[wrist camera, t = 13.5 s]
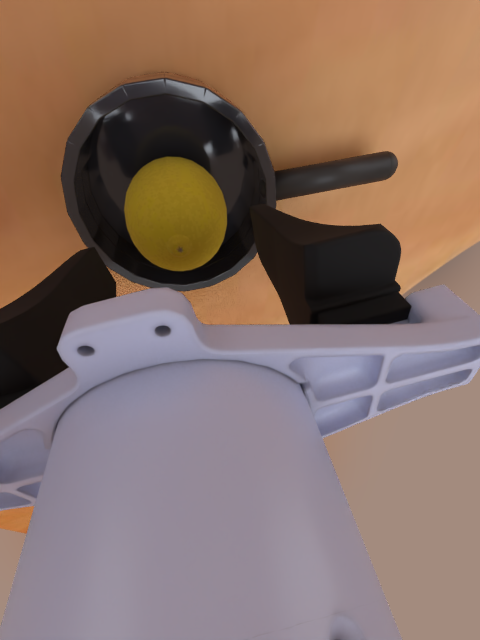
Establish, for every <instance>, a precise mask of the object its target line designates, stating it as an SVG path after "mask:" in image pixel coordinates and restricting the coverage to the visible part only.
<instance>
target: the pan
mask: <svg viewBox="0 0 480 640" xmlns="http://www.w3.org/2000/svg"><path fill="white" fill-rule="evenodd" d="M163 157H181V158H185V159H188V160H192V161H193V162H195V163H197V164H198V165H200V166H202V167H203V168H204V169H205V170H206V171H207V172H208V173H209V174H210V175H211V176H212V177H213V178H214V179H215V181H216V182H217V184H218V186H219V187H220V189H221V191H222V193H223V197H224V200H225V204H226V208H227V227H226V231H225V236H224V240H223V242H222V244H221V246H220V248H219V250H218V251H217V253H216V254H215V255H214V256H213V257H212V258H211V259H210V260H209V261H208V262H206V263H205V264H203V265H202V266H200V267H197V268H195V269H192V270H186V271H172V270H168V269H164V268H161V267H159V266H157V265H155V264H153V263H151V262H150V261H149V260H148V259H147V258H145V257H144V256H143V255H142V254H141V253H140V251H139V250H138V249H137V247H136V246H135V245H134V243H133V241H132V239H131V236H130V234H129V232H128V229H127V226H126V219H125V212H124V206H125V198H126V192H127V190H128V187H129V185H130V183H131V181H132V179H133V177H134V176H135V175H136V174H137V173H138V171H139V170H140V169H141V168H142V167H143V166H145V165H146V164H148V163H150V162H151V161H153V160H155V159H159V158H163ZM261 179H262V180H263V182H264V187H265V198H263V197H262V195H261V193H260V190H259V184H260V181H261ZM61 181H62V187H63V192H64V197H65V203H66V208H67V212H68V215H69V217H70V218H71V220H72V222H73V224H74V226H75V228H76V230H77V231H78V233H79V235H80V237H81V239H82V241H83V242H84V244H85V245H86V246H87V247H88V248H91V247H95V249H96V250H97V252H98V254H99V255H100V257H101V259H102V260H103V262H104V264H105V265H106V266H107V267H108V268H110V269H111V270H113V271H115V272H116V273H118V274H120V275H121V276H123V277H125V278H126V279H128V280H130V281H131V282H134V283H137V284H140V285H144V286H147V287H150V288H170V289H173V290H175V291H190V290H195V289H200V288H205V287H210V286H213V285H215V284H217V283H219V282H221V281H223V280H225V279H227V278H229V277H231V276H233V275H235V274H236V273H237V272H238V271H240V270H241V269H242V268H243V267H244V266H245V265H246V264H247V263H249V262H250V261H251V260H252V259H253V258H254V257H255V255H256V254H257V249H256V245H255V239H254V232H253V226H252V220H251V213H250V207H251V206H255V205H259V204H266V205H268V206H270V207H272V208H274V209H276V193H275V189H276V178H275V172H274V169H273V166H272V163H271V160H270V157H269V155H268V152H267V149H266V146H265V143H264V142H263V139H262V138H261V137H260V135H259V134H258V133H257V131H256V130H255V129H254V127H253V126H252V125H251V123H250V122H249V121H248V119H247V118H246V117H245V115H244V114H243V113H242V111H240V110H239V109H238V108H237V107H236V106H235V105H234V104H233V103H232V102H231V101H229V100H228V99H227V98H225V97H224V96H222V95H221V94H219V93H218V92H217V91H215V90H214V89H212V88H211V87H209V86H208V85H206V84H205V83H203V82H202V81H199V80H197V79H193V78H190V77H186V76H182V75H178V74H172V73H168V72H165V73H164V72H159V73H151V74H144V75H140V76H134V77H130V78H127V79H126V80H124V81H123V82H121V83H120V84H118V85H117V86H115V87H114V88H112V89H111V90H109V91H108V92H106V93H105V94H103V95H102V96H100V97H99V98H98V99H97V100H96V101H94V102H93V103H92V104H91V105H89V107H87V109H86V110H85V112H84V114H83V115H82V117H81V118H80V120H79V122H78V123H77V125H76V126H75V128H74V129H73V131H72V133H71V134H70V136H69V137H68V139H67V142H66V148H65V154H64V160H63V166H62V172H61Z"/></svg>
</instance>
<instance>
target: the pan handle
mask: <svg viewBox="0 0 480 640" xmlns="http://www.w3.org/2000/svg"><path fill="white" fill-rule="evenodd" d="M397 166H398V160H397V158H396V156H395V155H394V154H393V153H391V152H388V151H385V152H379V153H373V154H368V155H362V156H357V157H351V158H346V159H340V160H335V161H330V162H324V163H319V164H313V165H308V166H302V167H297V168H291V169H286V170H280V171H275V178H276V189H275V193H276V201H277V200H282V199H287V198H293V197H298V196H303V195H309V194H314V193H319V192H324V191H330V190H335V189H340V188H346V187H351V186H356V185H362V184H367V183H372V182H377V181H383V180H386V179H388V178H390V177H391V176H392V175H393V174H394V173H395V171H396V169H397ZM259 190H260V193H261V195H262V197H263V198H265V187H264V182H263V180H262V179H261V181H260V184H259Z"/></svg>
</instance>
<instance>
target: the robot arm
mask: <svg viewBox="0 0 480 640" xmlns="http://www.w3.org/2000/svg"><path fill="white" fill-rule="evenodd" d="M250 213H251V220H252V226H253V232H254V239H255V245H256V249H257V252H258V255H259V257H260V260H261V263H262V265H263V267H264V268H265V270H266V272H267V274H268V276H269V278H270V280H271V282H272V284H273V285H274V287H275V289H276V291H277V293H278V295H279V297H280V299H281V302H282V305H283V307H284V310H285V313H286V315H287V318H288V321H289V323H290V325H206V324H203V323H201V322H200V321H199V320H198V319H197V317H196V315H195V313H194V310H193V308H192V305H191V303H190V302H189V301H188V300H187V298H186V297H185V296H184V295H183V294H182V293H180V292H178V291H175V290H173V289H170V288H150V289H146V290H142V291H138V292H134V293H130V294H126V295H122V296H119V297H116V282H115V280H114V279H113V277H112V275H111V274H110V272H109V270H108V269H107V267H106V265H105V264H104V262H103V260H102V259H101V257H100V255H99V254H98V252H97V250H96V249H95V247H91V248H87V249H84V250H80V251H79V252H77V253H76V254H74V255H73V256H72V257H70V258H69V259H68V260H67V261H66V262H64V263H63V264H62V265H61V266H60V267H59V268H57V269H56V270H55V271H54V272H53V273H52V274H50V275H49V276H48V277H47V278H45V279H44V280H43V281H42V282H41V283H39V284H38V285H37V286H35V287H34V288H33V289H31V290H30V291H29V292H27V293H26V294H24V295H23V296H21V297H20V298H18V299H17V300H15V301H13V302H12V303H10V304H8V305H6V306H5V307H3V308H1V309H0V511H1V510H8V509H14V508H22V507H29V506H34V510H33V513H32V517H31V520H30V524H29V527H28V531H27V535H26V538H25V542H24V545H23V549H22V552H21V556H20V559H19V563H18V567H17V570H16V573H15V577H14V581H13V584H12V588H11V591H10V595H9V598H8V602H7V606H6V609H5V612H4V616H3V620H2V623H1V627H0V640H402V638H401V636H400V633H399V630H398V628H397V625H396V623H395V620H394V618H393V615H392V613H391V610H390V608H389V605H388V602H387V601H386V598H385V595H384V593H383V590H382V587H381V585H380V582H379V580H378V578H377V575H376V572H375V570H374V567H373V565H372V562H371V560H370V557H369V555H368V552H367V550H366V547H365V544H364V542H363V539H362V537H361V534H360V532H359V529H358V527H357V524H356V522H355V519H354V517H353V514H352V512H351V509H350V507H349V504H348V502H347V499H346V497H345V494H344V492H343V489H342V487H341V484H340V482H339V479H338V476H337V474H336V472H335V469H334V466H333V464H332V461H331V459H330V456H329V454H328V451H327V449H326V446H325V444H324V441H323V439H322V438H325V437H327V436H329V435H332V434H334V433H337V432H339V431H341V430H344V429H346V428H348V427H351V426H353V425H356V424H358V423H360V422H363V421H365V420H368V419H370V418H373V417H375V416H377V415H380V414H382V413H385V412H387V411H389V410H392V409H394V408H397V407H399V406H402V405H404V404H407V403H409V402H412V401H415V400H417V399H420V398H423V397H426V396H429V395H432V394H435V393H437V392H440V391H444V390H447V389H451V388H454V387H457V386H461V385H465V384H468V383H469V382H470V381H471V380H472V378H473V376H474V375H475V374H476V372H477V371H478V369H479V368H480V315H479V314H478V313H477V312H475V311H474V310H473V309H472V308H471V307H470V306H468V305H467V304H466V303H465V302H464V301H463V300H462V299H460V298H459V297H458V296H457V295H456V294H455V293H453V292H452V291H451V290H450V289H449V288H448V287H447V286H445V285H444V284H443V285H438V286H435V287H431V288H427V289H423V290H419V291H415V292H413V293H411V294H409V295H408V296H407V297H406V298H405V299H404V298H403V297H402V295H401V294H400V293H399V291H400V289H401V288H400V285H399V284H398V283H397V282H396V281H395V277H396V273H397V269H398V265H399V261H400V256H401V247H400V243H399V241H398V239H397V238H396V237H395V236H394V235H393V234H392V233H391V232H390V231H388V230H387V229H386V228H385V227H384V226H382V225H381V224H373V225H362V226H335V225H326V224H319V223H314V222H309V221H305V220H302V219H299V218H296V217H293V216H290V215H288V214H285V213H283V212H281V211H278V210H276V209H274V208H272V207H270V206H268V205H266V204H259V205H255V206H251V207H250Z"/></svg>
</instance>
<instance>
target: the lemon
mask: <svg viewBox="0 0 480 640" xmlns="http://www.w3.org/2000/svg"><path fill="white" fill-rule="evenodd" d="M124 212H125V219H126V226H127V229H128V232H129V234H130V236H131V239H132V241H133V243H134V245H135V246H136V247H137V249H138V250H139V251H140V253H141V254H142V255H143V256H144V257H145V258H147V259H148V260H149V261H150V262H151V263H153V264H155V265H157V266H159V267H161V268H164V269H168V270H172V271H186V270H192V269H195V268H197V267H200V266H202V265H203V264H205V263H206V262H208V261H209V260H210V259H211V258H212V257H213V256H214V255H215V254H216V253H217V251H218V250H219V248H220V246H221V244H222V242H223V240H224V236H225V231H226V227H227V208H226V204H225V200H224V197H223V193H222V191H221V189H220V187H219V186H218V184H217V182H216V181H215V179H214V178H213V177H212V176H211V175H210V174H209V173H208V172H207V171H206V170H205V169H204V168H203V167H202V166H200V165H198V164H197V163H195V162H193V161H192V160H188V159H185V158H181V157H163V158H159V159H155V160H153V161H151V162H150V163H148V164H146V165H145V166H143V167H142V168H141V169H140V170H139V171H138V173H137V174H136V175H135V176H134V177H133V179H132V181H131V183H130V185H129V187H128V190H127V192H126V198H125V206H124Z"/></svg>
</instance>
